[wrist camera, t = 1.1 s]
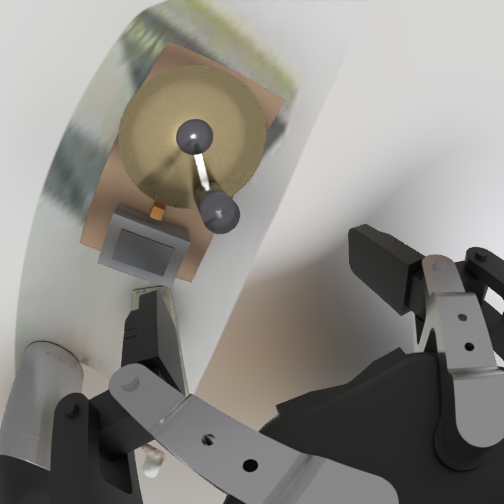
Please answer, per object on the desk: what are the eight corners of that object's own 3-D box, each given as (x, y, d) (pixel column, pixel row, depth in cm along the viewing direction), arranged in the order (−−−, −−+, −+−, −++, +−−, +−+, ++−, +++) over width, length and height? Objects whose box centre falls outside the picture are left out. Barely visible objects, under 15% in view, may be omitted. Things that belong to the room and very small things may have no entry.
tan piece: (189, 275, 30) (194, 299, 26) (83, 237, 25) (70, 257, 21) (278, 101, 25) (299, 98, 21) (168, 45, 20) (169, 29, 16)
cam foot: (269, 184, 27) (308, 208, 20) (144, 221, 25) (138, 260, 18) (244, 59, 21) (278, 34, 14) (108, 92, 19) (83, 77, 12)
